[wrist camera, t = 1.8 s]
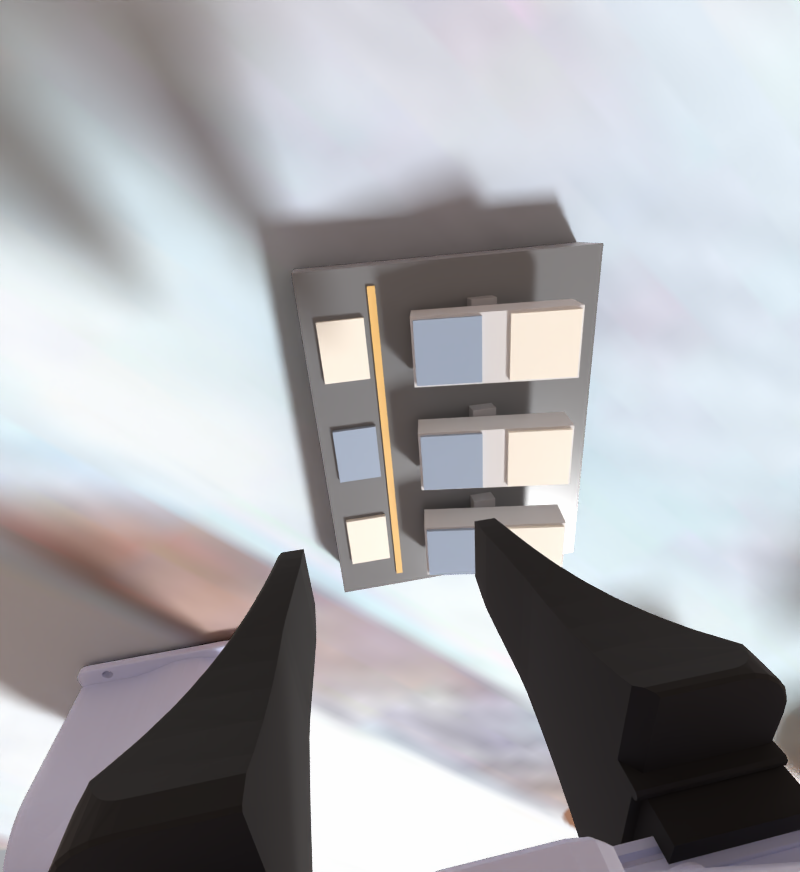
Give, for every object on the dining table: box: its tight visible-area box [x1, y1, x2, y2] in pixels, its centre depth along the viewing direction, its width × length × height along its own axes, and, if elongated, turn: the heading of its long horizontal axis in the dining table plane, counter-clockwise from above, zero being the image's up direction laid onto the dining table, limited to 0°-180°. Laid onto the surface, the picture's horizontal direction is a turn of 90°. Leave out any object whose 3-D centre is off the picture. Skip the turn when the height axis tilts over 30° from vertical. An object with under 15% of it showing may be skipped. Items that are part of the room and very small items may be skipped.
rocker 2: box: [418, 412, 574, 490], centre depth 19 cm, size 6×3×2 cm, turn 95°
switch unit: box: [291, 242, 603, 592], centre depth 21 cm, size 12×15×3 cm
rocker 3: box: [424, 504, 566, 575], centre depth 21 cm, size 6×3×2 cm, turn 95°
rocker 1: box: [410, 299, 585, 387], centre depth 17 cm, size 6×3×2 cm, turn 95°
